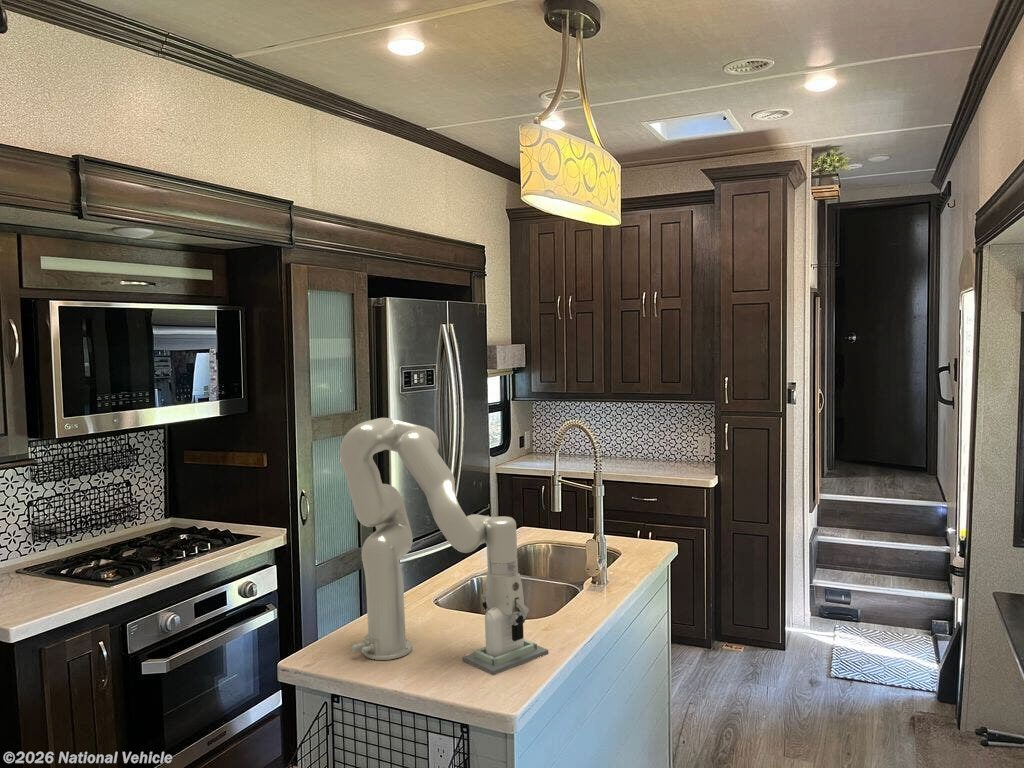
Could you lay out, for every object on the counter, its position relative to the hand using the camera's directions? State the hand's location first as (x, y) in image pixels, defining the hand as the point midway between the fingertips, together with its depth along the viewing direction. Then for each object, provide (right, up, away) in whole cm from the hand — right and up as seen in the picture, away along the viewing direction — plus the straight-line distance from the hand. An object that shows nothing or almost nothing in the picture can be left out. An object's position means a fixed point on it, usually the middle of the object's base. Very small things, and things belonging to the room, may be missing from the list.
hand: (505, 634), depth 196 cm
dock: (0, -6, 0) cm, 6 cm away
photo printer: (0, -5, 0) cm, 5 cm away
